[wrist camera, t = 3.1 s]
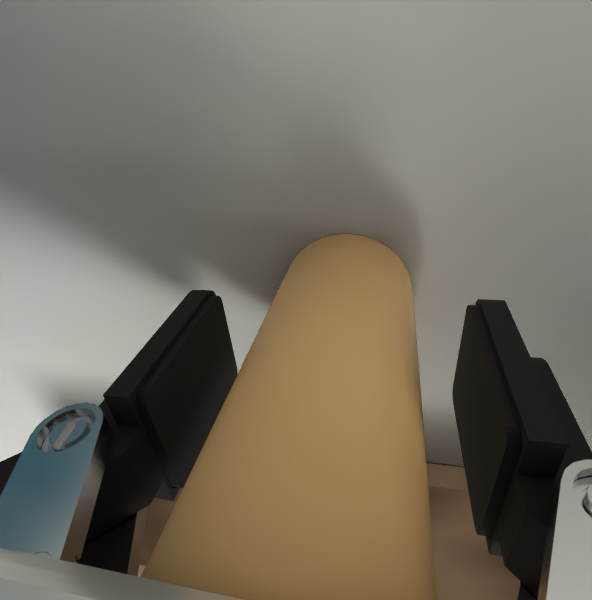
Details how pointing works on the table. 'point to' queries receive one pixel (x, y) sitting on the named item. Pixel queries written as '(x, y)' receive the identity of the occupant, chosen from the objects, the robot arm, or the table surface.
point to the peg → (315, 447)
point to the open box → (445, 535)
